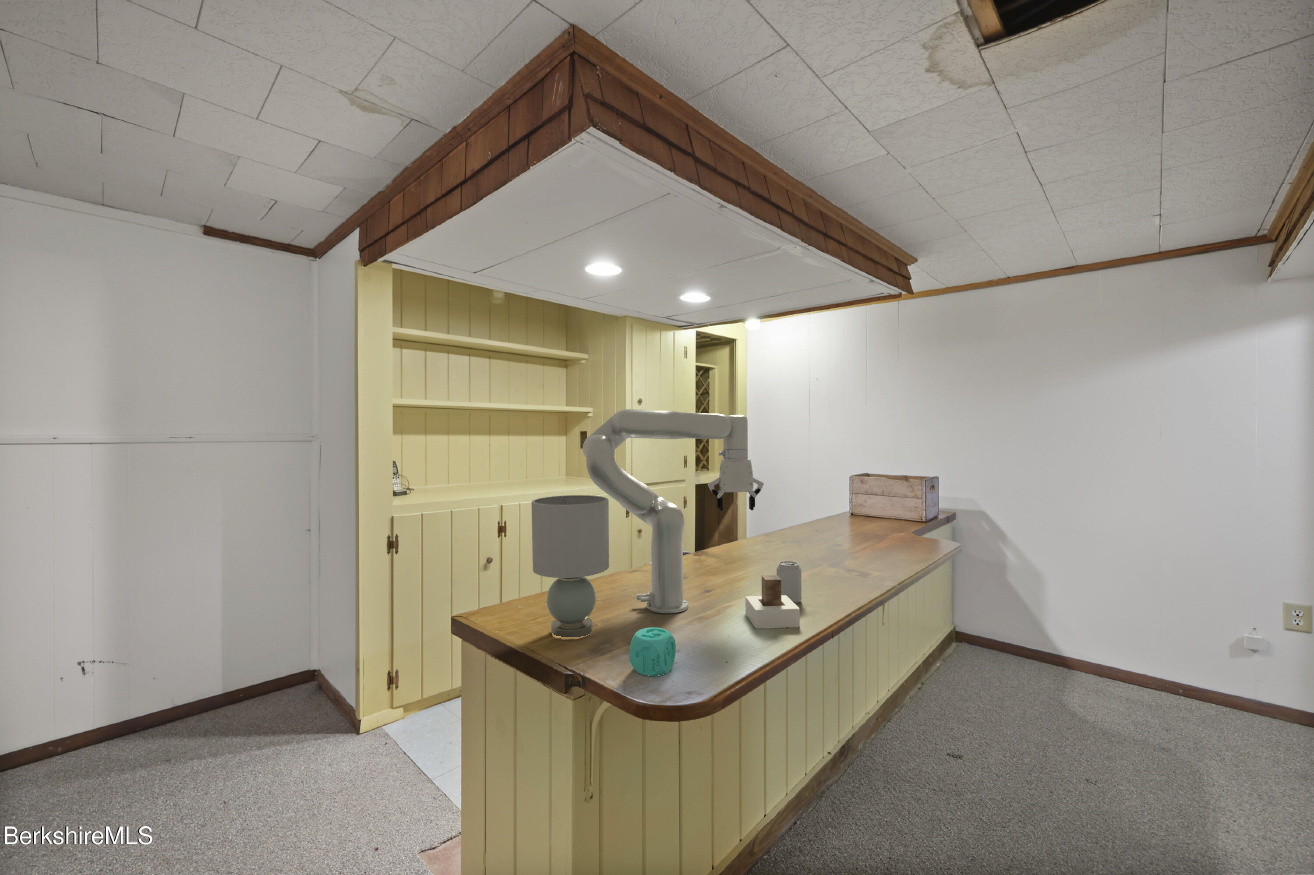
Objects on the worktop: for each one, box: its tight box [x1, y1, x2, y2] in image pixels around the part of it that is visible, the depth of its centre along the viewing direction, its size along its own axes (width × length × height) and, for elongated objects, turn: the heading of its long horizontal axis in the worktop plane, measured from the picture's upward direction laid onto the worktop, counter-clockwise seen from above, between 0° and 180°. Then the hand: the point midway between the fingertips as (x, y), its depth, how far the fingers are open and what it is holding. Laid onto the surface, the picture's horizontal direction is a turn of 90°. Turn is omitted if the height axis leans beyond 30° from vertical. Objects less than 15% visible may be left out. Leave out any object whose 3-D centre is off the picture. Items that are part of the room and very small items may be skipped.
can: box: [775, 560, 803, 605], centre depth 170 cm, size 8×8×12 cm
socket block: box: [744, 595, 801, 629], centre depth 154 cm, size 12×12×5 cm
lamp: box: [530, 494, 610, 637], centre depth 146 cm, size 20×20×35 cm
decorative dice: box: [628, 627, 677, 677], centre depth 124 cm, size 8×8×8 cm
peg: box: [761, 574, 781, 606], centre depth 154 cm, size 4×4×12 cm
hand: (736, 510), depth 171 cm, fingers open, 9 cm apart
